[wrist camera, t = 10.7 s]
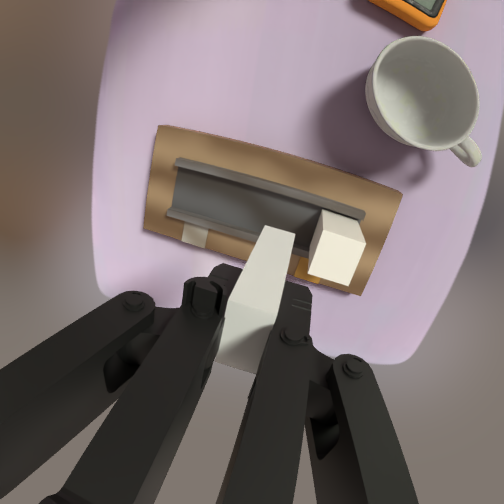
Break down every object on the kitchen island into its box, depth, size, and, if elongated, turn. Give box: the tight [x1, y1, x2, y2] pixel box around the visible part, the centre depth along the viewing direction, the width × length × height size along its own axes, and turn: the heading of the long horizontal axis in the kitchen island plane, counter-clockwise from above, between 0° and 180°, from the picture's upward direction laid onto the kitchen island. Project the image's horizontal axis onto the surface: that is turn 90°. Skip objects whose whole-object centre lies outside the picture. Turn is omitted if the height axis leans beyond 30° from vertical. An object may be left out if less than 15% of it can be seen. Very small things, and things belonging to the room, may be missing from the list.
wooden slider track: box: [143, 125, 403, 296], centre depth 35 cm, size 13×28×3 cm, turn 76°
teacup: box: [365, 36, 482, 167], centre depth 25 cm, size 14×11×8 cm
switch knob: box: [308, 209, 366, 286], centre depth 30 cm, size 4×4×7 cm
